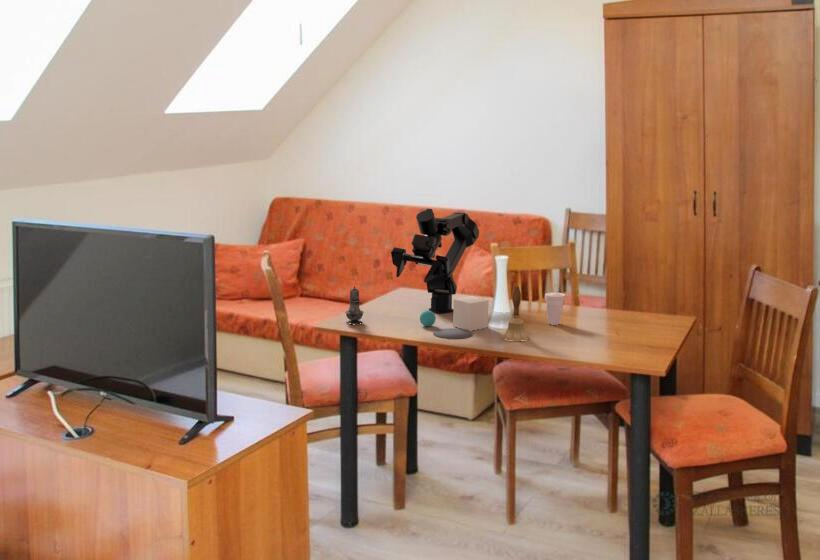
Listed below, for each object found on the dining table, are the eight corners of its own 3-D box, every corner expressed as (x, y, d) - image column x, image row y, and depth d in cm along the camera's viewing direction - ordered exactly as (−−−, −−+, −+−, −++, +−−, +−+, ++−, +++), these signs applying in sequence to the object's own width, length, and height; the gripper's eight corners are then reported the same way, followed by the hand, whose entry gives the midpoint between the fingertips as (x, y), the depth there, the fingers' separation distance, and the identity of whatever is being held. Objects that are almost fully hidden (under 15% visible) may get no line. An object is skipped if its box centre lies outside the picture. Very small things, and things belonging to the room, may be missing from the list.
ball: (428, 323, 309) (428, 308, 308) (438, 326, 305) (439, 311, 304) (416, 325, 306) (416, 310, 305) (426, 328, 302) (426, 313, 301)
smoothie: (566, 323, 311) (568, 280, 309) (560, 327, 306) (562, 283, 303) (547, 320, 314) (548, 278, 311) (541, 325, 308) (542, 281, 305)
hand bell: (503, 341, 288) (505, 289, 285) (500, 334, 296) (502, 283, 293) (531, 342, 288) (533, 289, 285) (528, 334, 297) (529, 283, 293)
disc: (454, 327, 305) (454, 326, 305) (480, 334, 296) (480, 334, 296) (425, 332, 297) (425, 332, 297) (451, 341, 288) (451, 340, 288)
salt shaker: (361, 325, 305) (361, 288, 303) (343, 324, 306) (342, 287, 304) (365, 321, 311) (365, 284, 309) (347, 320, 312) (347, 283, 310)
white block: (471, 322, 310) (471, 295, 308) (487, 327, 304) (488, 300, 303) (453, 326, 305) (453, 299, 304) (469, 331, 300) (470, 303, 298)
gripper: (398, 222, 308) (379, 254, 298) (454, 231, 302) (436, 265, 292) (402, 248, 316) (384, 280, 306) (456, 258, 310) (439, 291, 300)
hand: (410, 278), depth 301 cm, fingers open, 9 cm apart
